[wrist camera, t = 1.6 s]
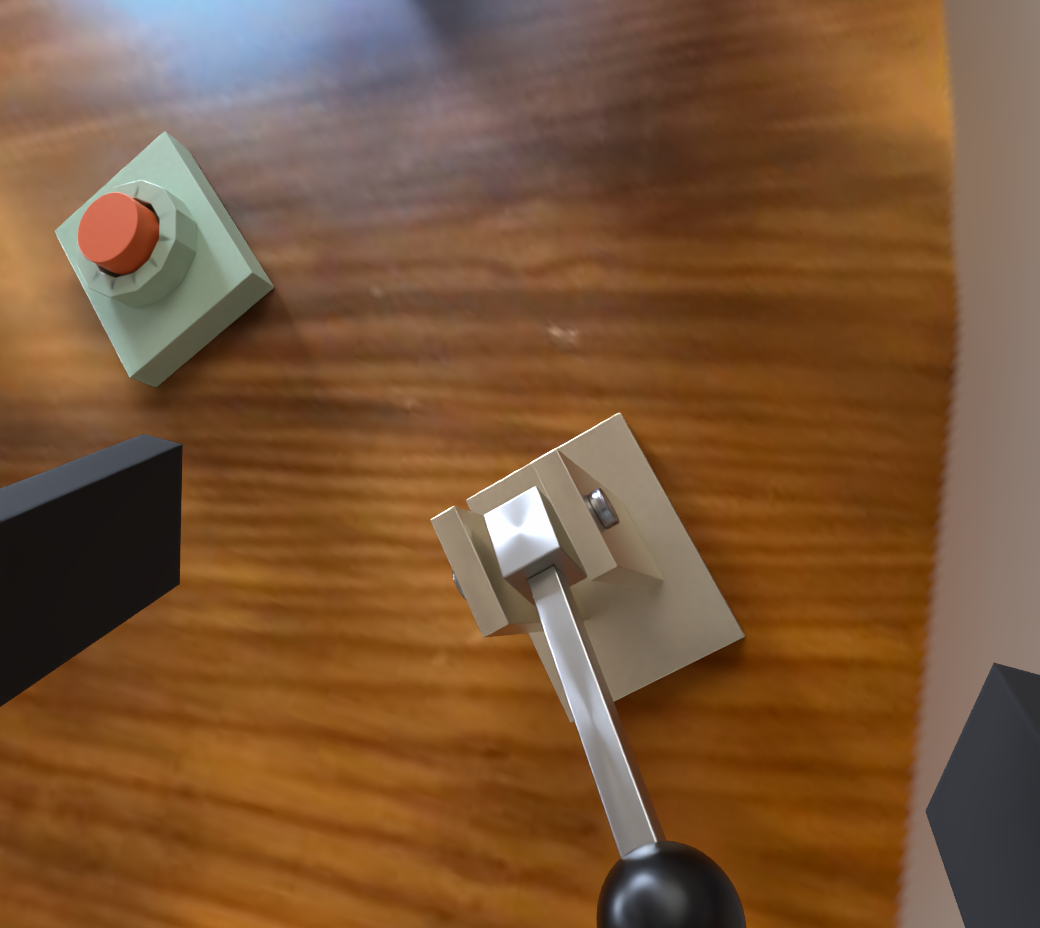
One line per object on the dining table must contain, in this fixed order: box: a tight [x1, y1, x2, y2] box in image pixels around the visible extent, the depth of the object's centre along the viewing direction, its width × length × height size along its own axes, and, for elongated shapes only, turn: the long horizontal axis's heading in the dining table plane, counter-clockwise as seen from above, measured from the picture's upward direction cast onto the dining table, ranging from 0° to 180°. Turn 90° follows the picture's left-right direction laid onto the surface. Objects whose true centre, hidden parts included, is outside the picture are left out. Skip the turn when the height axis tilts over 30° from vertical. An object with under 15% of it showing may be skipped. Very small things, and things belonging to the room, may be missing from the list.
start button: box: [77, 192, 159, 274], centre depth 46 cm, size 4×4×2 cm
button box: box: [55, 131, 274, 387], centre depth 48 cm, size 13×10×4 cm
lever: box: [484, 486, 746, 928], centre depth 23 cm, size 15×4×4 cm, turn 28°
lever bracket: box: [431, 413, 746, 723], centre depth 32 cm, size 12×9×14 cm
